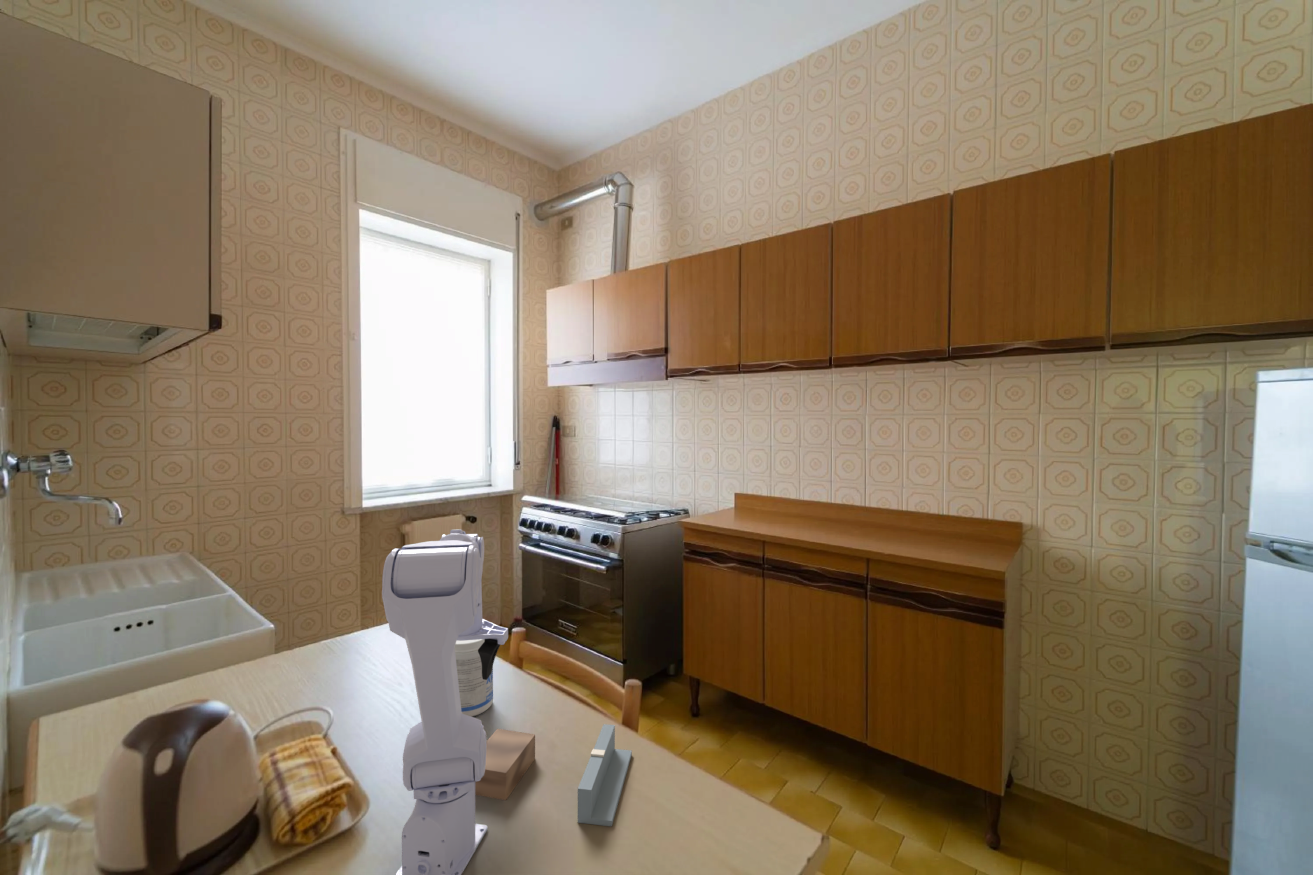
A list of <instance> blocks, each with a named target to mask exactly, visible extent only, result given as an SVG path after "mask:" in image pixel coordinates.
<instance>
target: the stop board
mask: <svg viewBox="0 0 1313 875" xmlns="http://www.w3.org/2000/svg"><path fill="white" fill-rule="evenodd" d="M615 732H616V725H615V724H607V723H603V725H602V727H601V730H600V732H599V735H598V737H597V739H596V742H595V745H594V747H593V749H592V750H591V752H590V757H589V759H588V763H587V765H586V767H585V770H584V772H583V775H582V777H581V779H580V782H579V784H578V787H577V823H579V824H589V825H596V826H597V825H598V826H604V827H612V826H613V823H614V820H615V816H616V812H617V809H618V806H619V805H618V804H619V803H620V799H621V794H622V791H623V787H624V783H625V780H626V777H627V774H628V769H629V765H630V762H631V759H632V755H633V753H632V752H633V750H631V749H621V748H620V749H618V748H616V747H615V745H616V742H615V741H616V735H615V734H616V733H615Z"/></svg>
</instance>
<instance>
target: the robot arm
mask: <svg viewBox="0 0 1313 875" xmlns="http://www.w3.org/2000/svg"><path fill="white" fill-rule="evenodd" d="M484 560H485V540H484V536H481V537H480V536H479V534H478V533H466V531H465V530H463V529H461V528H460V529H450V531H449V534H445V533H444V534H442V535H441V538H440V539H439V540H430V541H429V540H428V541H423V542H417V543H411V544H405V545H403V546H401V548H396V547H395V548H393V549H392V550H391V551H390V553H389V554H388V555H386V558H385V561H384V564H383V570H382V580H381V581H382V584H381V586H382V588H381V589H382V590H381V598H382V602H383V608H384V614H385V618H386V621H387V622H388V626H389V627H388V628H389V631H390V632H391V633H394V634H395V635H397V636H398V637H400V638H402V639H404V641H405V643H406V646H407V652H408V655H409V659H410V663H411V668H412V673H413V679H414V686H415V690H416V695H417V696H416V697H417V702H418V707H419V714H420V722H418V723H417V724H415V725H414V726H412V727H410V729H409V732H408V734H407V736H406V739H405V743H404V747H403V748H404V749H403V754H402V784H403V786H404V788H406V790H407V791H408V792H411V791H413V800H415V804H414V807H413V810H412V811H411V814H410V816H409V817H408V819H407V820H406V822H405V823H404V826H403V827H402V831H401V866H400V867H399V869H398V870H397V871H396V873H395V875H462V874H463V873H464V871H465V870H466V867H467V865H469V862H470V860H471V858H472V857H473V855H474V854H475V852H476V850H477V848H478V847H479V845H480V843H481V841H482V839H483V838H484V836H485V834H486V833H487V831H488V825H486V824H481V823H476V795H475V781H480V780H481V778H482V777H483V776H484V773H485V765H486V741H487V731H486V730H485V726H484V724H482V723H483V722H482V720H481V719H480V718H477V717H475V716H472V717H471V716H468V715H465V714H462V712H461V703H460V693H459V684H458V674H457V665H456V656H455V644H456V640H457V641H463V640H477V639H484V640H485V642H484V643H483V644H482V645H481V647H480V648H479V649H478V653H479V655H480V658H481V663H482V678H483V679H484V680H487V679H488V677H489V676H490V674H491V673H492V668H493V669H494V663H495V659H496V656H497V653H498V651H499V649H500V647H501V645H502V646H503V645H505V643H506V642H507V640H508V639H509V628H508V627H504V626H500V625H498V624H495V623H493V622H491V621H489V620H486V619H485V618H483V591H482V590H483V588H482V587H483V584H482V579H483V578H482V577H483V570H484Z"/></svg>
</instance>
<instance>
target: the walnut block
mask: <svg viewBox="0 0 1313 875" xmlns="http://www.w3.org/2000/svg"><path fill="white" fill-rule="evenodd" d="M535 760H536V734H535V733H530V732H529V733H528V732H523V731H515V730H510V729H509V730H508V729H504V728H503V729H501V728H497V729H496V730H495V731H494V732H493V733H492V734H491V735H490V736H489V738H488V739H486V765H485V773H484V776H483V777H482V778H481V780H480V781H475V796H481V797H485V798H491V799H495V800H496V799H497V800H502V801H506V800H508V798H509V797H510V795H511V794H512V792H513V791H514V789H515V788H516V787H517V785H518V784H519V782H520V781H521V780H522V778H523V777H524V776H525V774H526V773H527V771H528V770H529V768H530V767H531V765H532V764H533V762H534V761H535Z"/></svg>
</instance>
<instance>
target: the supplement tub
mask: <svg viewBox="0 0 1313 875" xmlns="http://www.w3.org/2000/svg"><path fill="white" fill-rule="evenodd" d="M484 642H485V640H484V639H477V640H463V641H457V640H456V644H455V656H456V665H457V674H458V684H459V693H460V703H461V712H462V714H465V715H468V716H471V717H475V716H478V715H480V714H482V713H484V712H486V711H487V710H488V709H490V707H491V706H492V704H493V702H494V667H493V668H492V673H491V674H490V676H489V677H488V679H487V680H484V679H483V678H482V663H481V658H480V655H479V653H478V649H479V648H480V647H481V645H482V644H483V643H484Z"/></svg>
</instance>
